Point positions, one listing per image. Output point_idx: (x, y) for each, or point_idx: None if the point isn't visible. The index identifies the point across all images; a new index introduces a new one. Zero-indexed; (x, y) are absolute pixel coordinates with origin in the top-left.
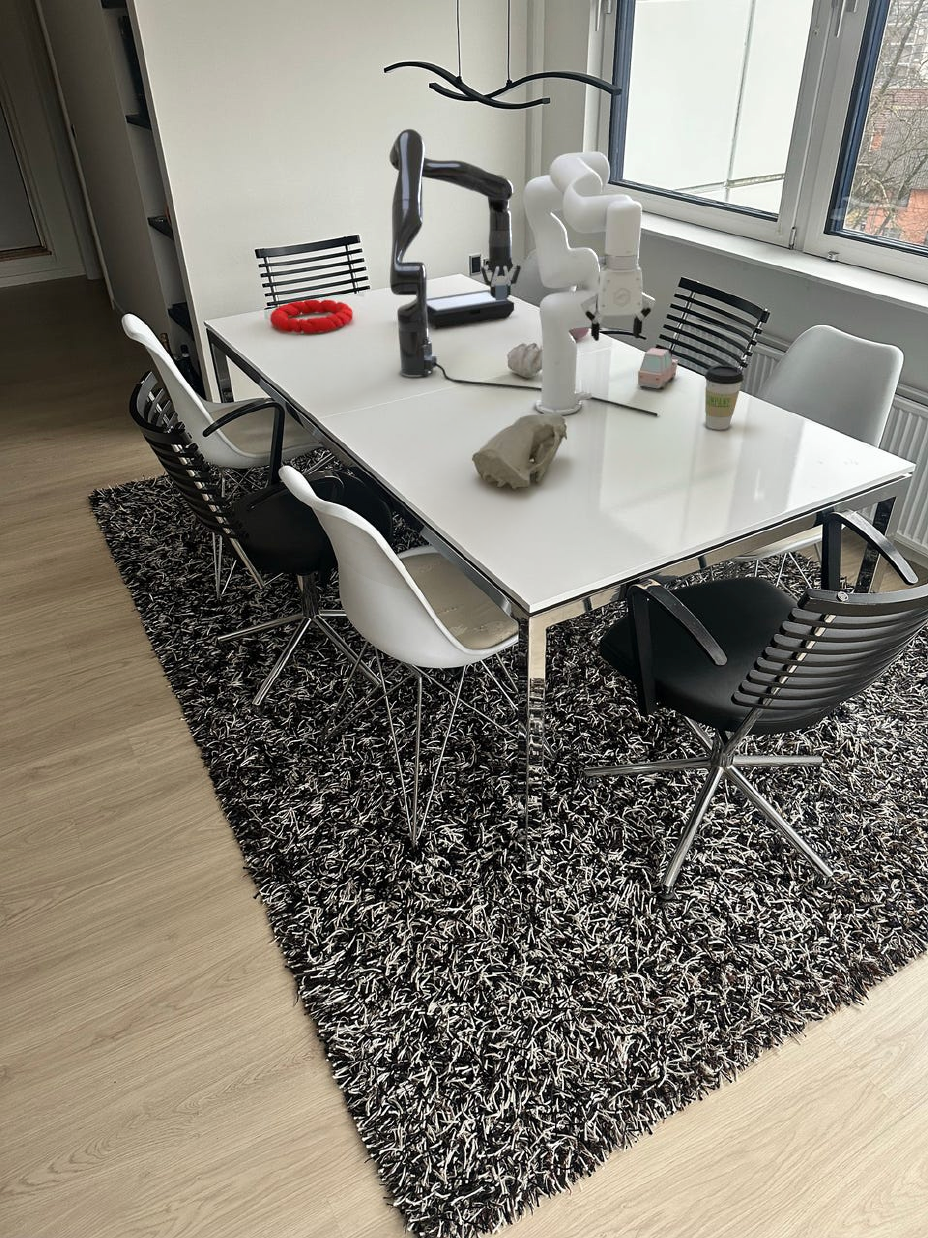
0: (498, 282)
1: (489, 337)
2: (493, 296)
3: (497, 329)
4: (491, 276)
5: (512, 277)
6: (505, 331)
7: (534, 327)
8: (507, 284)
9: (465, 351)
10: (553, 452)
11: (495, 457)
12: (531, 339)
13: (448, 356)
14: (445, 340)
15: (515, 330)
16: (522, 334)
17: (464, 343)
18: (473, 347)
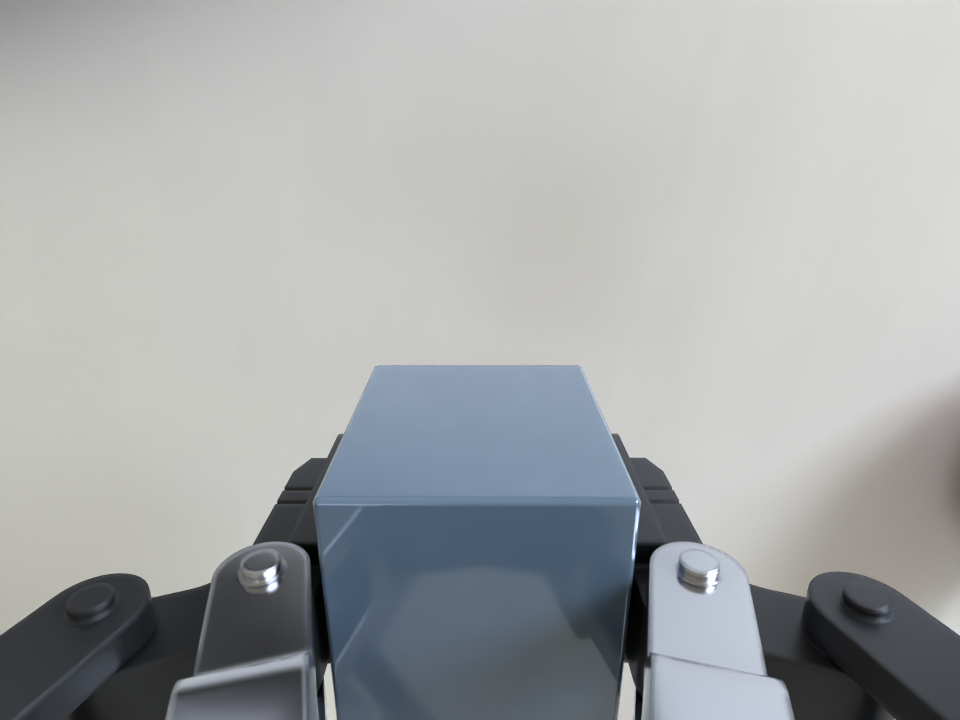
0: (441, 548)
1: (383, 312)
2: None
3: (479, 84)
4: (178, 682)
5: (877, 664)
6: (543, 167)
7: (842, 93)
8: (634, 680)
9: (197, 578)
10: None
11: None
12: (703, 423)
13: None
14: (13, 320)
15: (640, 155)
16: (670, 286)
17: (179, 420)
18: (251, 515)
